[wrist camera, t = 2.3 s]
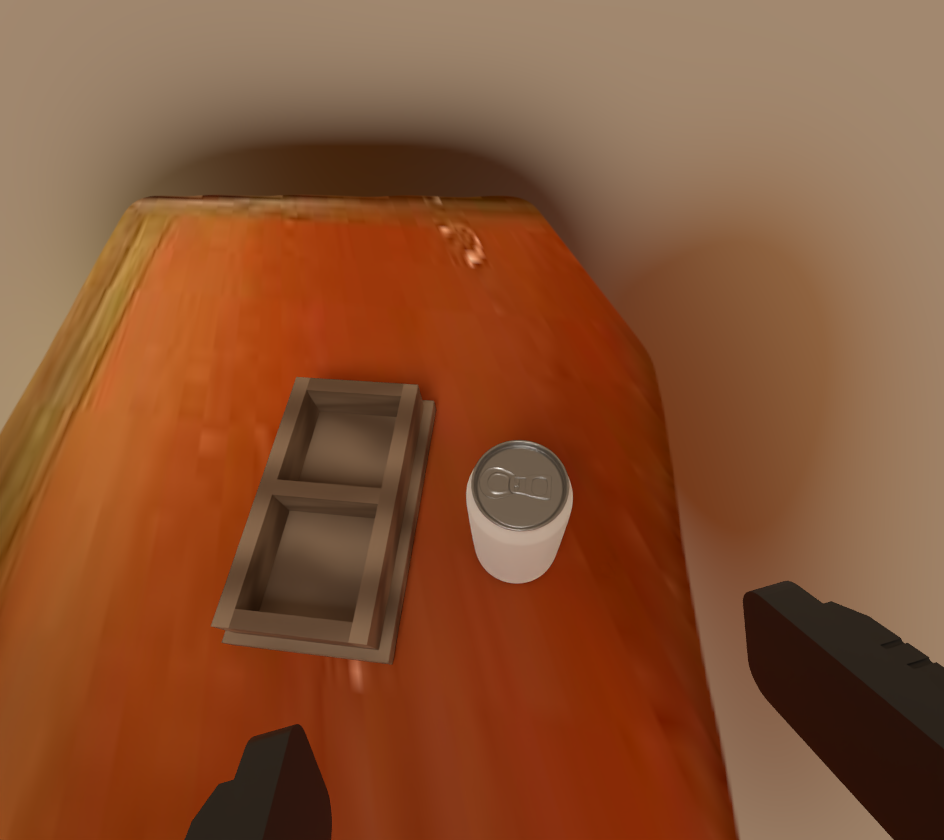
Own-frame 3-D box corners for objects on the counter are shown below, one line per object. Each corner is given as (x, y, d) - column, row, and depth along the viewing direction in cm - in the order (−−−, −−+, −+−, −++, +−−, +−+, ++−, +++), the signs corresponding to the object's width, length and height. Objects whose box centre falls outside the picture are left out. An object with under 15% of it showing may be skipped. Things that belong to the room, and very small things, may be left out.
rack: (392, 664, 35) (376, 658, 31) (231, 644, 36) (195, 636, 32) (436, 409, 45) (428, 378, 41) (309, 400, 47) (289, 369, 42)
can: (478, 499, 41) (470, 429, 31) (558, 507, 40) (577, 437, 30) (469, 580, 38) (456, 532, 27) (555, 589, 37) (576, 544, 27)
